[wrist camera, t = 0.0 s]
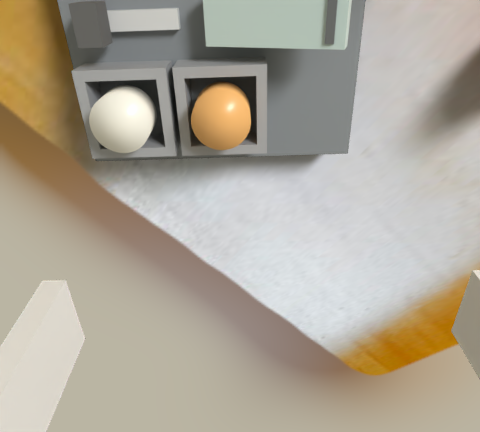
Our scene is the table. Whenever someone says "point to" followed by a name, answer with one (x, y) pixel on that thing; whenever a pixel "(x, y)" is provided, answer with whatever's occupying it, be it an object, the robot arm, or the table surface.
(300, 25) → the block
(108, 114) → the button
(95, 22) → the slider
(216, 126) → the button
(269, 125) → the panel
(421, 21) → the table surface
